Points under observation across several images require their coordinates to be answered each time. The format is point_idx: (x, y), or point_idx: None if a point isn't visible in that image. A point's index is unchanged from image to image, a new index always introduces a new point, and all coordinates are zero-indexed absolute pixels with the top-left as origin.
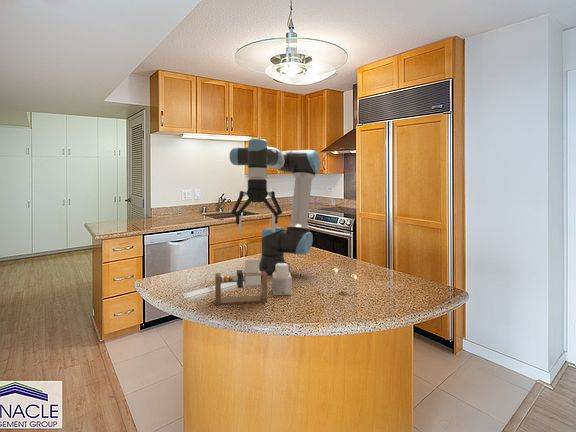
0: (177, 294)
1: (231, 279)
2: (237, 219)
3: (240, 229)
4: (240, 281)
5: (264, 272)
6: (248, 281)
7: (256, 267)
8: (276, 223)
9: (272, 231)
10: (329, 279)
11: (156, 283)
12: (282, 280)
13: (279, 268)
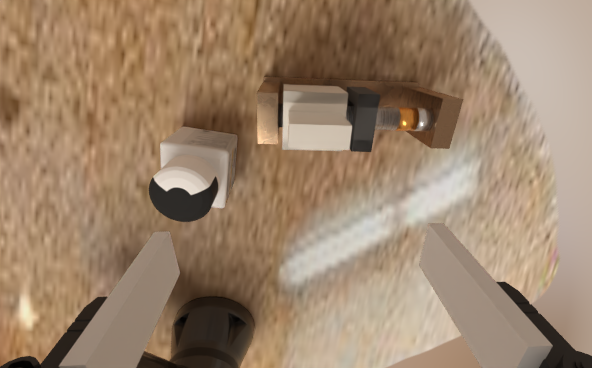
0: (490, 188)
1: (392, 108)
2: (533, 322)
3: (448, 238)
4: (361, 89)
5: (263, 126)
6: (331, 88)
7: (300, 116)
8: (102, 298)
9: (173, 252)
10: (49, 238)
11: (516, 272)
12: (197, 143)
13: (196, 167)
